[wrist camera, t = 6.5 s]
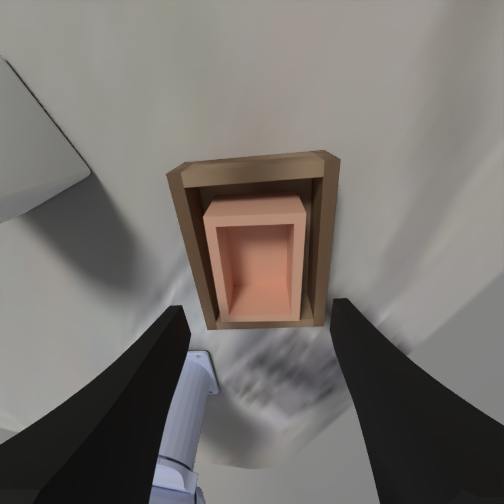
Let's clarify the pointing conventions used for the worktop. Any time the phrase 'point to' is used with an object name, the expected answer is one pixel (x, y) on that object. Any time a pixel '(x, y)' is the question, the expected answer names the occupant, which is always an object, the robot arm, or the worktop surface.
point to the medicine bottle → (31, 151)
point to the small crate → (257, 255)
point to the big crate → (261, 181)
